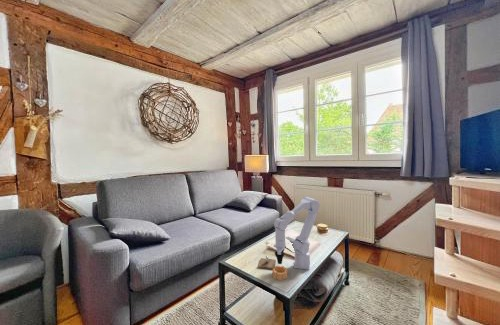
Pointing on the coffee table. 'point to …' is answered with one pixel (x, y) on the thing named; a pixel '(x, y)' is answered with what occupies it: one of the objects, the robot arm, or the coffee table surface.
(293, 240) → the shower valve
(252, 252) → the coffee table surface
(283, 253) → the robot arm
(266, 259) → the hook post
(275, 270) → the cord coil ring
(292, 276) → the coffee table surface
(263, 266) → the walnut base board
